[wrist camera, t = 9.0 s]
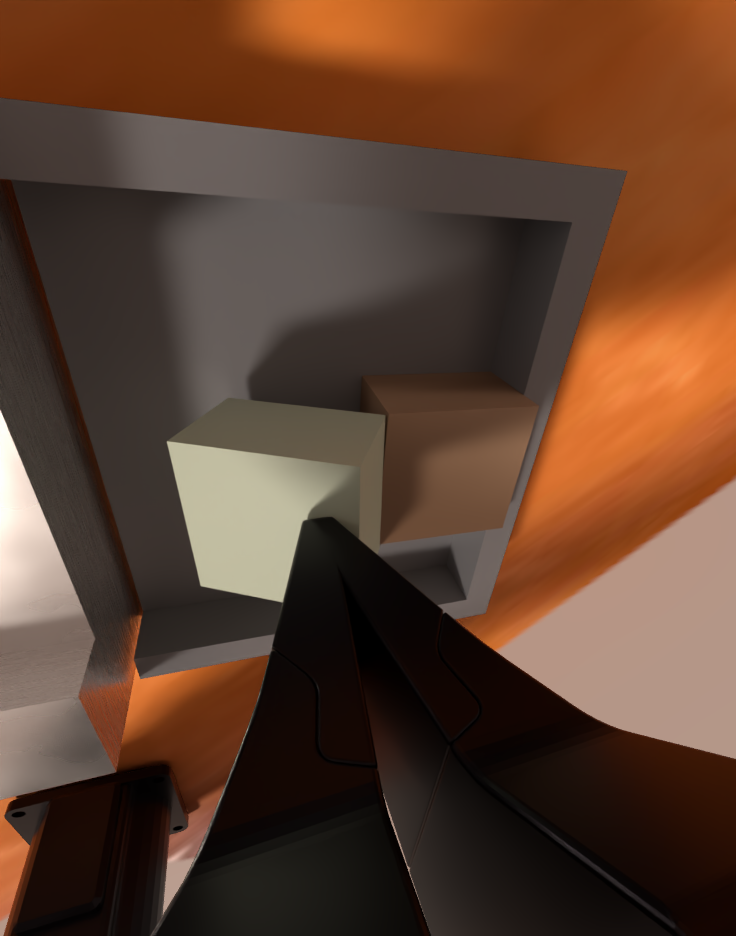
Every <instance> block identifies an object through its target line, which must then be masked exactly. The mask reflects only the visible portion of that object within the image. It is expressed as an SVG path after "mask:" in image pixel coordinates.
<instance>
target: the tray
mask: <svg viewBox="0 0 736 936" xmlns="http://www.w3.org/2000/svg"><path fill="white" fill-rule="evenodd" d="M626 174H627V171H623V170H614V169H606V168H597V167H588V166H580V165H571V164H563V163H554V162H546V161H537V160H529V159H520V158H512V157H503V156H494V155H486V154H477V153H469V152H460V151H452V150H443V149H435V148H426V147H417V146H409V145H400V144H392V143H383V142H375V141H366V140H358V139H349V138H341V137H332V136H323V135H315V134H306V133H298V132H289V131H281V130H272V129H264V128H255V127H246V126H238V125H229V124H221V123H212V122H204V121H195V120H187V119H178V118H170V117H161V116H152V115H144V114H135V113H127V112H118V111H110V110H101V109H93V108H84V107H75V106H67V105H58V104H50V103H41V102H33V101H24V100H16V99H7V98H0V179H9V180H11V182H12V185H13V188H14V191H15V195H16V198H17V201H18V204H19V208H20V211H21V214H22V218H23V221H24V224H25V227H26V231H27V234H28V237H29V240H30V244H31V247H32V250H33V253H34V257H35V260H36V263H37V267H38V270H39V273H40V276H41V280H42V283H43V286H44V289H45V293H46V296H47V299H48V303H49V306H50V309H51V312H52V316H53V319H54V322H55V325H56V329H57V332H58V335H59V338H60V342H61V345H62V348H63V352H64V355H65V358H66V361H67V365H68V368H69V371H70V374H71V378H72V381H73V384H74V387H75V391H76V394H77V397H78V401H79V404H80V407H81V410H82V414H83V417H84V420H85V423H86V427H87V430H88V433H89V437H90V440H91V443H92V446H93V450H94V453H95V456H96V459H97V463H98V466H99V469H100V472H101V476H102V479H103V482H104V486H105V489H106V492H107V495H108V499H109V502H110V505H111V508H112V512H113V515H114V518H115V521H116V525H117V528H118V531H119V535H120V538H121V541H122V544H123V548H124V551H125V554H126V557H127V561H128V564H129V567H130V571H131V574H132V577H133V580H134V584H135V587H136V590H137V593H138V597H139V600H140V603H141V606H142V610H143V614H142V619H141V624H140V629H139V634H138V639H137V644H136V649H135V655H134V662H135V665H136V668H137V670H138V673H139V676H140V679H143V678H148V677H153V676H159V675H164V674H169V673H175V672H180V671H185V670H190V669H196V668H201V667H206V666H211V665H217V664H222V663H227V662H232V661H238V660H243V659H248V658H254V657H259V656H264V655H269V654H270V652H271V651H272V650H271V648H272V644H273V640H274V636H275V632H276V627H277V623H278V619H279V615H280V611H281V607H282V603H283V602H278V601H273V600H268V599H263V598H258V597H253V596H248V595H243V594H238V593H233V592H228V591H223V590H218V589H213V588H208V587H203V586H201V585H200V580H199V576H198V572H197V568H196V563H195V559H194V555H193V551H192V546H191V542H190V538H189V534H188V529H187V525H186V521H185V517H184V512H183V508H182V504H181V500H180V495H179V491H178V487H177V483H176V478H175V474H174V470H173V465H172V461H171V457H170V453H169V448H168V444H167V441H168V440H169V439H171V438H172V437H173V436H175V435H176V434H178V433H179V432H180V431H182V430H183V429H185V428H186V427H188V426H189V425H190V424H192V423H193V422H195V421H196V420H197V419H199V418H200V417H202V416H203V415H204V414H206V413H207V412H209V411H210V410H212V409H213V408H214V407H216V406H217V405H219V404H220V403H221V402H223V401H224V400H226V399H227V398H236V399H245V400H254V401H263V402H272V403H281V404H290V405H299V406H308V407H317V408H326V409H335V410H344V411H353V412H360V399H361V383H362V376H363V375H396V374H429V373H462V372H492V373H493V374H495V375H496V376H498V377H499V378H501V379H502V380H503V381H505V382H506V383H508V384H509V385H510V386H512V387H513V388H515V389H516V390H517V391H519V392H520V393H522V394H523V395H524V396H526V397H527V398H529V399H530V400H531V401H533V402H534V403H536V404H537V405H538V406H539V408H538V411H537V415H536V418H535V421H534V425H533V428H532V431H531V435H530V438H529V441H528V445H527V448H526V451H525V455H524V458H523V461H522V465H521V468H520V471H519V475H518V478H517V481H516V485H515V488H514V491H513V495H512V498H511V501H510V505H509V508H508V511H507V515H506V518H505V521H504V525H503V528H498V529H491V530H483V531H476V532H468V533H461V534H453V535H446V536H438V537H431V538H423V539H416V540H408V541H401V542H394V543H386V544H380V548H379V551H378V554H377V555H379V556H380V557H381V558H382V559H383V560H385V561H386V562H387V563H388V564H389V565H391V566H392V567H393V568H394V569H395V570H396V571H398V572H399V573H400V574H401V575H402V576H404V577H405V578H406V579H407V580H408V581H410V582H411V583H412V584H413V585H414V586H415V587H417V588H418V589H419V590H420V591H421V592H423V593H424V594H425V595H426V596H427V597H428V598H430V599H431V600H432V601H433V602H434V603H436V604H437V605H438V606H439V607H440V608H442V609H443V613H445V612H446V613H448V614H449V615H450V616H451V617H452V618H454V619H459V618H464V617H470V616H475V615H480V614H485V613H486V610H487V607H488V604H489V601H490V598H491V594H492V591H493V588H494V585H495V582H496V579H497V576H498V573H499V570H500V566H501V563H502V560H503V557H504V554H505V551H506V548H507V545H508V541H509V538H510V535H511V532H512V529H513V526H514V523H515V520H516V517H517V513H518V510H519V507H520V504H521V501H522V498H523V495H524V492H525V489H526V485H527V482H528V479H529V476H530V473H531V470H532V467H533V464H534V460H535V457H536V454H537V451H538V448H539V445H540V442H541V439H542V436H543V432H544V429H545V426H546V423H547V420H548V417H549V414H550V411H551V408H552V404H553V401H554V398H555V395H556V392H557V389H558V386H559V383H560V379H561V376H562V373H563V370H564V367H565V364H566V361H567V358H568V355H569V351H570V348H571V345H572V342H573V339H574V336H575V333H576V330H577V326H578V323H579V320H580V317H581V314H582V311H583V308H584V305H585V302H586V298H587V295H588V292H589V289H590V286H591V283H592V280H593V277H594V274H595V270H596V267H597V264H598V261H599V258H600V255H601V252H602V249H603V245H604V242H605V239H606V236H607V233H608V230H609V227H610V224H611V221H612V217H613V214H614V211H615V208H616V205H617V202H618V199H619V196H620V193H621V189H622V186H623V183H624V180H625V177H626Z"/></svg>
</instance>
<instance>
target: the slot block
mask: <svg viewBox="0 0 736 936" xmlns="http://www.w3.org/2000/svg"><path fill="white" fill-rule="evenodd" d="M142 614H143V610H142V606H141V603H140V600H139V597H138V593H137V590H136V587H135V584H134V580H133V577H132V574H131V571H130V567H129V564H128V561H127V557H126V554H125V551H124V548H123V544H122V541H121V538H120V535H119V531H118V528H117V525H116V521H115V518H114V515H113V512H112V508H111V505H110V502H109V499H108V495H107V492H106V489H105V486H104V482H103V479H102V476H101V472H100V469H99V466H98V463H97V459H96V456H95V453H94V450H93V446H92V443H91V440H90V437H89V433H88V430H87V427H86V423H85V420H84V417H83V414H82V410H81V407H80V404H79V401H78V397H77V394H76V391H75V387H74V384H73V381H72V378H71V374H70V371H69V368H68V365H67V361H66V358H65V355H64V352H63V348H62V345H61V342H60V338H59V335H58V332H57V329H56V325H55V322H54V319H53V316H52V312H51V309H50V306H49V303H48V299H47V296H46V293H45V289H44V286H43V283H42V280H41V276H40V273H39V270H38V267H37V263H36V260H35V257H34V253H33V250H32V247H31V244H30V240H29V237H28V234H27V231H26V227H25V224H24V221H23V218H22V214H21V211H20V208H19V204H18V201H17V198H16V195H15V191H14V188H13V185H12V182H11V180H9V179H0V800H2V799H6V798H10V797H14V796H18V795H23V794H27V793H31V792H35V791H39V790H44V789H48V788H52V787H56V786H61V785H65V784H69V783H73V782H77V781H82V780H86V779H90V778H94V777H98V776H103V775H107V774H111V773H115V772H116V771H117V765H118V760H119V755H120V749H121V744H122V739H123V733H124V728H125V723H126V717H127V712H128V707H129V701H130V696H131V691H132V685H133V680H134V675H135V669H136V665H135V662H134V655H135V649H136V644H137V639H138V634H139V629H140V624H141V619H142Z"/></svg>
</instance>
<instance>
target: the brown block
mask: <svg viewBox="0 0 736 936" xmlns="http://www.w3.org/2000/svg"><path fill="white" fill-rule="evenodd" d="M538 408H539V406H538V405H537V404H536V403H534V402H533V401H531V400H530V399H529V398H527V397H526V396H524V395H523V394H522V393H520V392H519V391H517V390H516V389H515V388H513V387H512V386H510V385H509V384H508V383H506V382H505V381H503V380H502V379H501V378H499V377H498V376H496V375H495V374H493V373H492V372H462V373H429V374H396V375H363V376H362V383H361V399H360V412H362V413H371V414H380V415H386V421H385V443H384V461H383V477H382V505H381V528H380V544H386V543H394V542H401V541H408V540H416V539H423V538H431V537H438V536H446V535H453V534H461V533H468V532H476V531H483V530H491V529H498V528H503V525H504V521H505V518H506V515H507V511H508V508H509V505H510V501H511V498H512V495H513V491H514V488H515V485H516V481H517V478H518V475H519V471H520V468H521V465H522V461H523V458H524V455H525V451H526V448H527V445H528V441H529V438H530V435H531V431H532V428H533V425H534V421H535V418H536V415H537V411H538Z"/></svg>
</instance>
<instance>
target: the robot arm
mask: <svg viewBox="0 0 736 936" xmlns="http://www.w3.org/2000/svg"><path fill="white" fill-rule="evenodd" d="M271 650H272V651H271V652H270V655H269V659H268V663H267V667H266V671H265V675H264V678H263V682H262V685H261V689H260V692H259V696H258V699H257V702H256V705H255V708H254V711H253V714H252V717H251V719H250V722H249V725H248V728H247V731H246V733H245V736H244V739H243V741H242V744H241V746H240V749H239V751H238V754H237V756H236V759H235V761H234V764H233V767H232V769H231V772H230V774H229V777H228V779H227V782H226V784H225V787H224V790H223V792H222V795H221V797H220V800H219V802H218V805H217V807H216V810H215V813H214V815H213V818H212V820H211V822H210V825H209V827H208V830H207V832H206V834H205V837H204V839H203V841H202V844H201V846H200V848H199V850H198V853H197V855H196V857H195V859H194V861H193V863H192V865H191V867H190V869H189V871H188V873H187V875H186V877H185V879H184V881H183V883H182V884H181V886H180V888H179V890H178V891H177V893H176V894H175V896H174V898H173V899H172V901H171V903H170V904H169V906H168V908H167V909H166V911H165V912H164V914H163V904H164V892H165V881H166V869H167V858H168V847H169V835H170V834H174V833H178V832H181V831H183V830H185V829H186V828H187V827H188V814H187V811H186V808H185V805H184V803H183V800H182V797H181V794H180V791H179V789H178V786H177V783H176V780H175V777H174V775H173V772H172V769H171V767H170V766H168V765H157V766H153V767H149V768H145V769H140V770H136V771H132V772H128V773H124V774H119V775H115V776H111V777H107V778H103V779H99V780H94V781H90V782H86V783H82V784H78V785H73V786H69V787H65V788H61V789H57V790H52V791H48V792H44V793H40V794H36V795H32V796H27V797H23V798H19V799H16V800H13V801H11V802H10V803H9V804H8V807H7V810H6V812H5V815H4V816H5V819H6V820H7V821H8V822H9V823H10V824H11V825H12V826H13V827H14V829H15V830H16V831H17V832H18V833H19V834H20V835H21V836H22V838H23V839H24V840H25V841H26V842H27V843H28V844H29V845H30V848H29V851H28V855H27V858H26V861H25V865H24V868H23V872H22V875H21V878H20V882H19V885H18V888H17V892H16V895H15V899H14V902H13V905H12V909H11V912H10V915H9V919H8V922H7V925H6V929H5V932H4V936H736V759H734V758H730V757H726V756H722V755H718V754H714V753H710V752H706V751H702V750H698V749H694V748H690V747H687V746H683V745H679V744H675V743H671V742H667V741H663V740H659V739H655V738H651V737H647V736H643V735H639V734H635V733H631V732H628V731H624V730H621V729H618V728H616V727H613V726H610V725H608V724H606V723H604V722H601V721H599V720H597V719H595V718H593V717H592V716H590V715H588V714H586V713H585V712H583V711H581V710H580V709H578V708H577V707H575V706H574V705H572V704H571V703H569V702H568V701H566V700H565V699H563V698H562V697H561V696H559V695H558V694H556V693H555V692H553V691H552V690H550V689H549V688H547V687H546V686H545V685H543V684H542V683H540V682H539V681H537V680H536V679H534V678H533V677H531V676H530V675H529V674H527V673H526V672H524V671H523V670H521V669H520V668H518V667H517V666H515V665H514V664H513V663H511V662H510V661H508V660H507V659H505V658H504V657H503V656H501V655H500V654H499V653H497V652H496V651H494V650H493V649H492V648H490V647H489V646H487V645H486V644H485V643H483V642H482V641H481V640H480V639H478V638H477V637H476V636H475V635H473V634H472V633H471V632H470V631H468V630H467V629H466V628H465V627H463V626H462V625H461V624H460V623H458V622H457V621H456V620H455V619H454V618H452V617H451V616H450V615H449V614H448V613H446V612H445V613H443V609H442V608H440V607H439V606H438V605H437V604H436V603H434V602H433V601H432V600H431V599H430V598H428V597H427V596H426V595H425V594H424V593H423V592H421V591H420V590H419V589H418V588H417V587H415V586H414V585H413V584H412V583H411V582H410V581H408V580H407V579H406V578H405V577H404V576H402V575H401V574H400V573H399V572H398V571H396V570H395V569H394V568H393V567H392V566H391V565H389V564H388V563H387V562H386V561H385V560H383V559H382V558H381V557H380V556H379V555H377V554H376V553H375V552H374V551H373V550H372V549H370V548H369V547H368V546H367V545H366V544H364V543H363V542H362V541H361V540H360V539H359V538H357V537H356V536H355V535H354V534H353V533H351V532H350V531H349V530H348V529H347V528H345V527H344V526H343V525H342V524H341V523H340V522H338V521H337V520H336V519H335V518H333V517H321V518H314V519H307V520H304V521H303V522H302V524H301V529H300V533H299V537H298V541H297V545H296V549H295V553H294V557H293V561H292V566H291V570H290V574H289V578H288V582H287V586H286V590H285V594H284V599H283V603H282V607H281V611H280V615H279V619H278V623H277V627H276V632H275V636H274V640H273V644H272V648H271ZM383 793H384V795H383ZM384 796H385V799H386V802H387V805H388V808H389V811H390V814H391V817H392V820H393V823H394V826H395V829H396V832H397V835H398V838H399V841H400V843H401V847H402V850H403V853H404V855H405V859H406V862H407V865H408V866H409V867H410V874H411V877H412V880H413V883H414V886H415V889H416V891H417V894H416V892H415V889H414V886H413V883H412V880H411V877H410V875H409V872H408V869H407V866H406V863H405V860H404V857H403V855H402V852H401V849H400V846H399V843H398V840H397V838H396V835H395V832H394V829H393V826H392V824H391V821H390V818H389V815H388V811H387V807H386V803H385V799H384ZM417 895H418V897H417ZM418 898H419V900H418ZM419 901H420V902H419ZM420 904H421V905H420ZM421 907H422V908H421ZM422 910H423V911H422ZM423 913H424V914H423ZM162 915H163V916H162ZM424 916H425V917H424ZM425 918H426V919H425ZM426 921H427V922H426ZM427 924H428V925H427ZM428 927H429V928H428ZM429 930H430V931H429Z"/></svg>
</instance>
